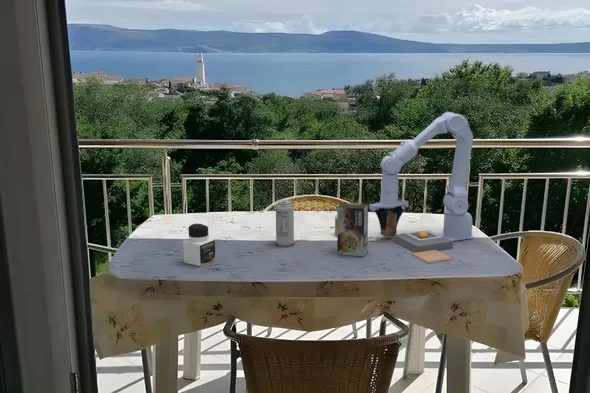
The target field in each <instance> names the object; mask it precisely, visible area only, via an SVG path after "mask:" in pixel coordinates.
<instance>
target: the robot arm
mask: <svg viewBox="0 0 590 393" xmlns="http://www.w3.org/2000/svg"><path fill="white" fill-rule="evenodd" d="M447 133H450V135H451V136H452V137H453V138H454V139H455V141H456V144H455V149H454V151H455V152H454V156H453V164H452V171H451V177H450V185H449V186H448V187H447V190H446V193H445V195H444V196H443V199H442V204H443V206H444V207H445V209H444V211H443V212H444V213H443V214H444V216H443V231H442V233H437V234H438V235H440V236H442V237H445V238H447V239H449V240H452V241H453V242H457V241H462V240H463V241H465V240H469V239H470V240H471V239H474V236H472V234H473V233H472V232H473V217H472V214H471V213H469V212H468V210H469V202H468V192H467V188H466V187H467V180H468V173H469V167H470V161H471V154H472V147H473V141H474V135H473V132H472V130H471V128H470V126H469V120H467V119H466V117H464V115H462V114H459V113H454V112H453V111H446V112H444V113H442V114H441V115H440V116H439V117H436V118H435V119H434V120H433V122H431V123H430V124H429V125H428V126H427V127H425V128H424V129H423V130H422V131H421V132H420V133H419V134H418V135H417V136H416V137H415V138H413V139H412V140H406V141H402V142H400V144H399V145H400V146H398V147H397V148H396V149H395V150H393V151H390V152H389V155H386V156H384V157H383V158H382V159H381V162H380V164H379V165H380V168H381V169H382V170H381V172H382V173H381V186H380V188H381V189H380V191H381V193H380V194H381V195H380V196H381V197H380V202H376V203H370V204H369V210H370V211H372V212H375V214H376V217H377V220H378V223H379V226H380V230H381V229H382V230H385V228H386V217H387V214H388V212H389V211H386V209H390V211H391V212H394V213H396V214H397V225H398V224H399V222H400V221H399V220H400V218H401V216H402V215H403V213H404V211H405V209H404V208H409V201H408V200H399V172H401V169H402V167H403V166H404V165H405V164H406V163H408V162H409V161H410V160H412V159H413V158H414V157H415V156H416V155H418V151H419V148H420V147H422V146H423V145H424V144H426V143H427V142H429V141H430V140H431V139H432V138H434V137H435V136H437V135H441V134H447Z"/></svg>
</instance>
